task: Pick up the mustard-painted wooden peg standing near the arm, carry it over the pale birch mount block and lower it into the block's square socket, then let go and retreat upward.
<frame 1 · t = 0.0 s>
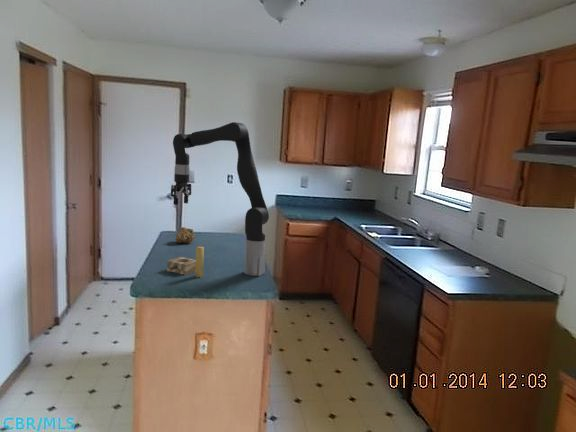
hand: (180, 204, 234), 29 cm above the worktop, fingers open, 8 cm apart
rock: (184, 243, 272), on the worktop
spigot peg: (198, 276, 210), on the worktop
socket mount: (182, 270, 218), on the worktop
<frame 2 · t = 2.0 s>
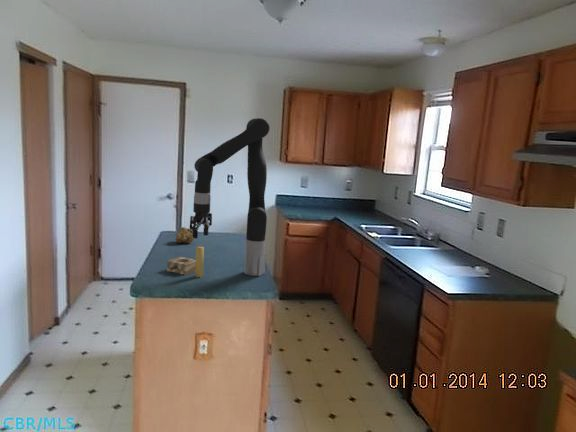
hand: (200, 236, 207), 19 cm above the worktop, fingers open, 8 cm apart
nothing on the worktop moved.
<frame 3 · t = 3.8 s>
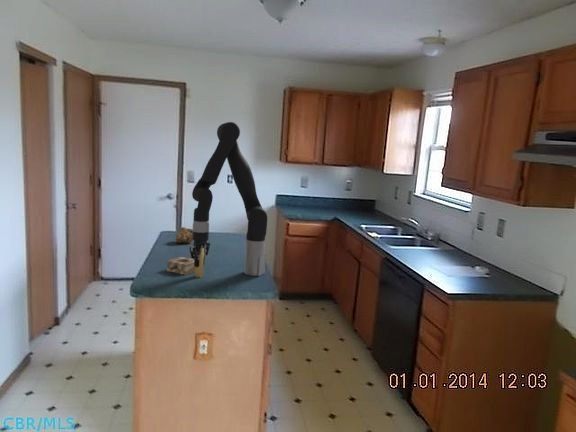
hand: (199, 265, 210), 5 cm above the worktop, fingers closed on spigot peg, 3 cm apart
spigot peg: (198, 276, 210), on the worktop, touching gripper
everything else where it was.
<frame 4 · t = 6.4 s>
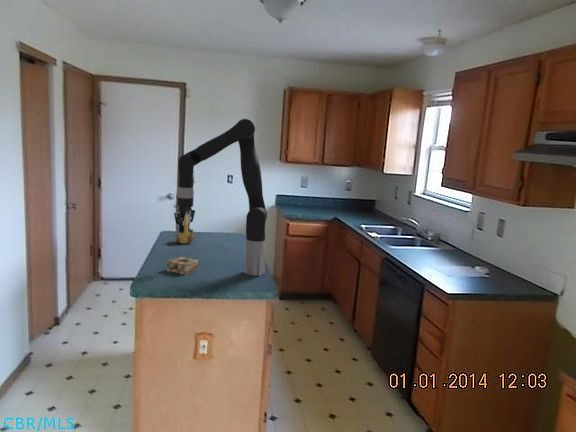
hand: (184, 231, 214), 19 cm above the worktop, fingers closed on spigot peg, 3 cm apart
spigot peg: (183, 242, 215), point 14 cm above the worktop, touching gripper
everything else where it was.
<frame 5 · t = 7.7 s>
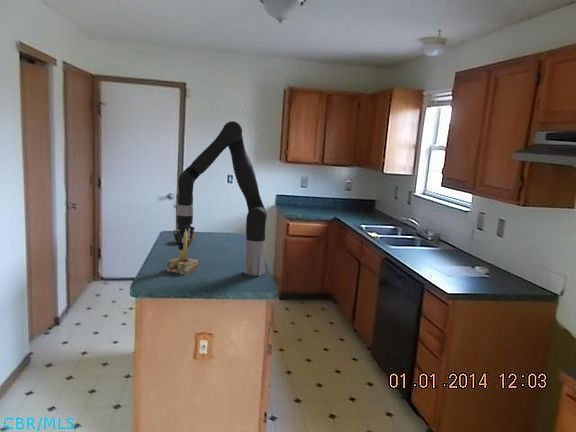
hand: (183, 248, 216), 11 cm above the worktop, fingers closed on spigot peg, 3 cm apart
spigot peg: (182, 259, 217), point 6 cm above the worktop, touching gripper
everything else where it was.
when the fingers open (7 cm above the worktop, at t = 8.9 s): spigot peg drops 1 cm, resting in socket mount.
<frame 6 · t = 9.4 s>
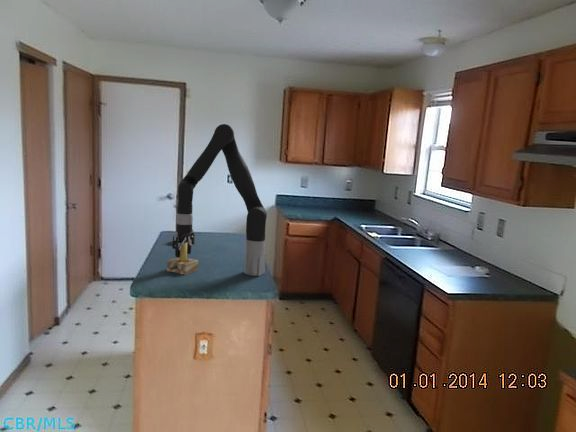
hand: (183, 255, 216), 8 cm above the worktop, fingers open, 8 cm apart
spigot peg: (182, 270, 218), resting in socket mount
everything else where it was.
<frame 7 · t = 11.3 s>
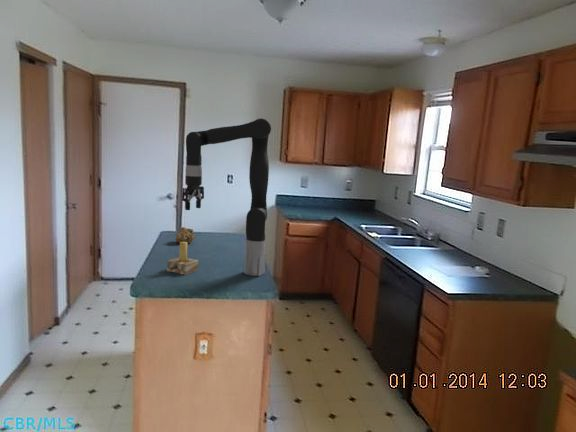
hand: (193, 209, 212), 31 cm above the worktop, fingers open, 8 cm apart
nothing on the worktop moved.
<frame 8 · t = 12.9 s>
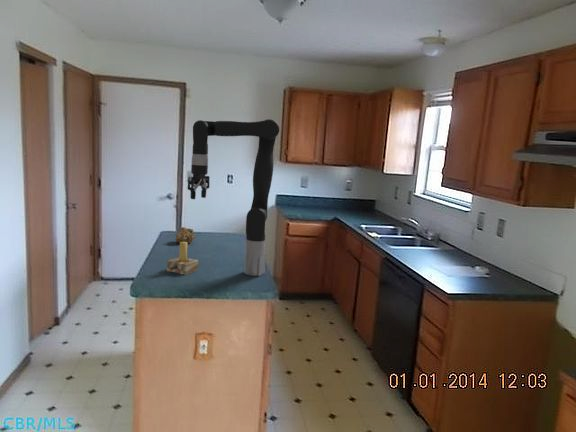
hand: (198, 198, 211), 36 cm above the worktop, fingers open, 8 cm apart
nothing on the worktop moved.
at the end: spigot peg 0.1 cm off-centre on the socket mount, point 0.0 cm above the socket mount's base; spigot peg tilted 0°; the gripper is holding nothing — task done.
